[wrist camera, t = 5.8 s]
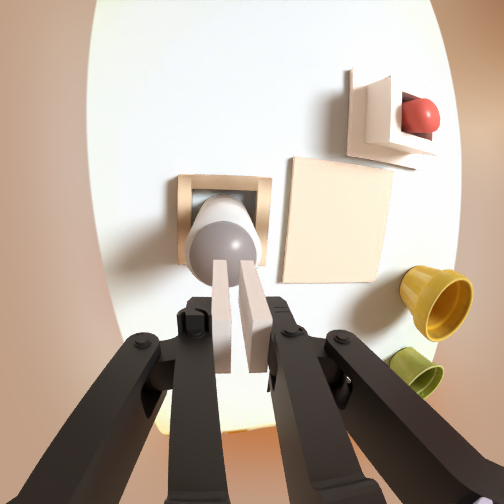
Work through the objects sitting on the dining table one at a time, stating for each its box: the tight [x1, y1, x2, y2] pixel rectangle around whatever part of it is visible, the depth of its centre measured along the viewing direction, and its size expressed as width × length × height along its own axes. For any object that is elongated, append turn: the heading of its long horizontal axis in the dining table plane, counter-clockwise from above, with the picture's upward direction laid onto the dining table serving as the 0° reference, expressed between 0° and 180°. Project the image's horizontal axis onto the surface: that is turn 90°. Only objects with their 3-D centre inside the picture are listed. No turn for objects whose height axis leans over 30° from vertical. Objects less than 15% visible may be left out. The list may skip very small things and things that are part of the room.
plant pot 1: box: [400, 266, 473, 342], centre depth 36 cm, size 10×10×10 cm
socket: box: [178, 174, 272, 266], centre depth 33 cm, size 10×10×2 cm
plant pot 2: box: [389, 347, 444, 400], centre depth 42 cm, size 9×9×9 cm
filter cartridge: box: [184, 194, 262, 287], centre depth 28 cm, size 6×6×14 cm
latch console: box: [346, 68, 441, 170], centre depth 29 cm, size 12×12×7 cm
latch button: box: [401, 98, 441, 133], centre depth 26 cm, size 4×4×5 cm
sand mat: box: [282, 157, 393, 283], centre depth 36 cm, size 16×14×1 cm
